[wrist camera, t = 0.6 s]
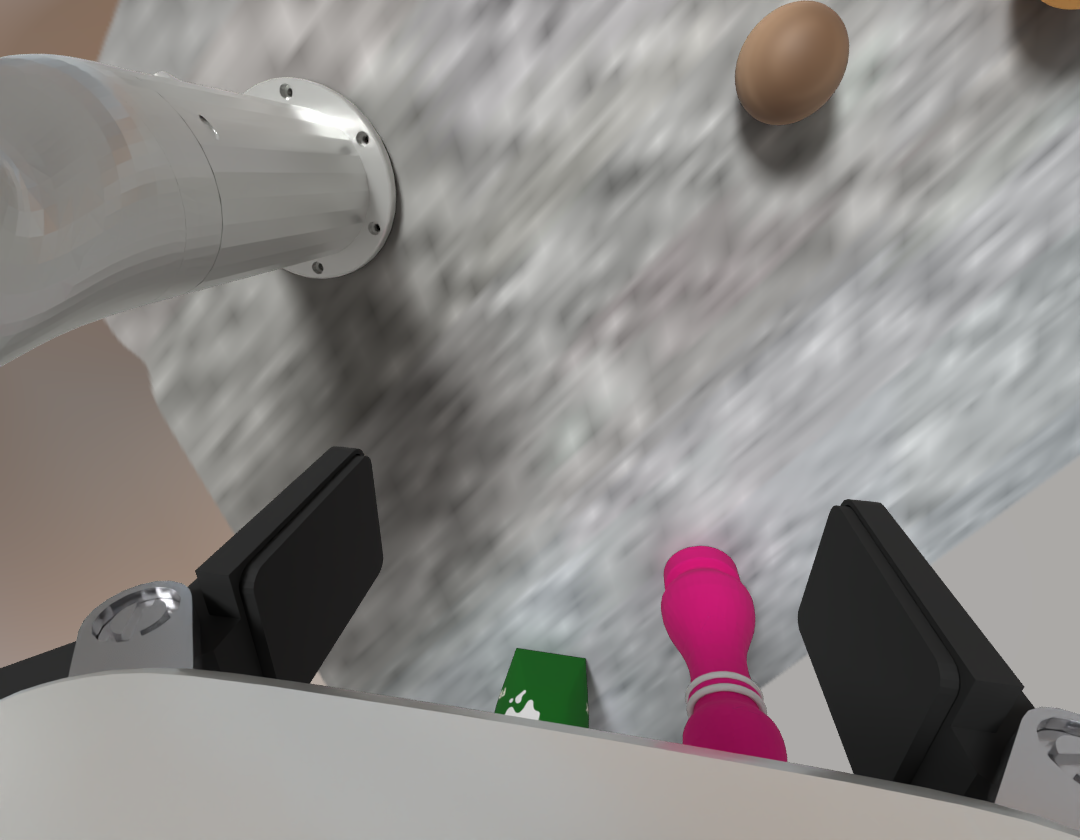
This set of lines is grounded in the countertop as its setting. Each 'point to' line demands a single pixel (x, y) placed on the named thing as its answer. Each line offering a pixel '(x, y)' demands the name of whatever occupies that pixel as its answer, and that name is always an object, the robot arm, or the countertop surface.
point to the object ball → (1063, 4)
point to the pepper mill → (717, 654)
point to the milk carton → (546, 688)
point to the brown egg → (792, 62)
